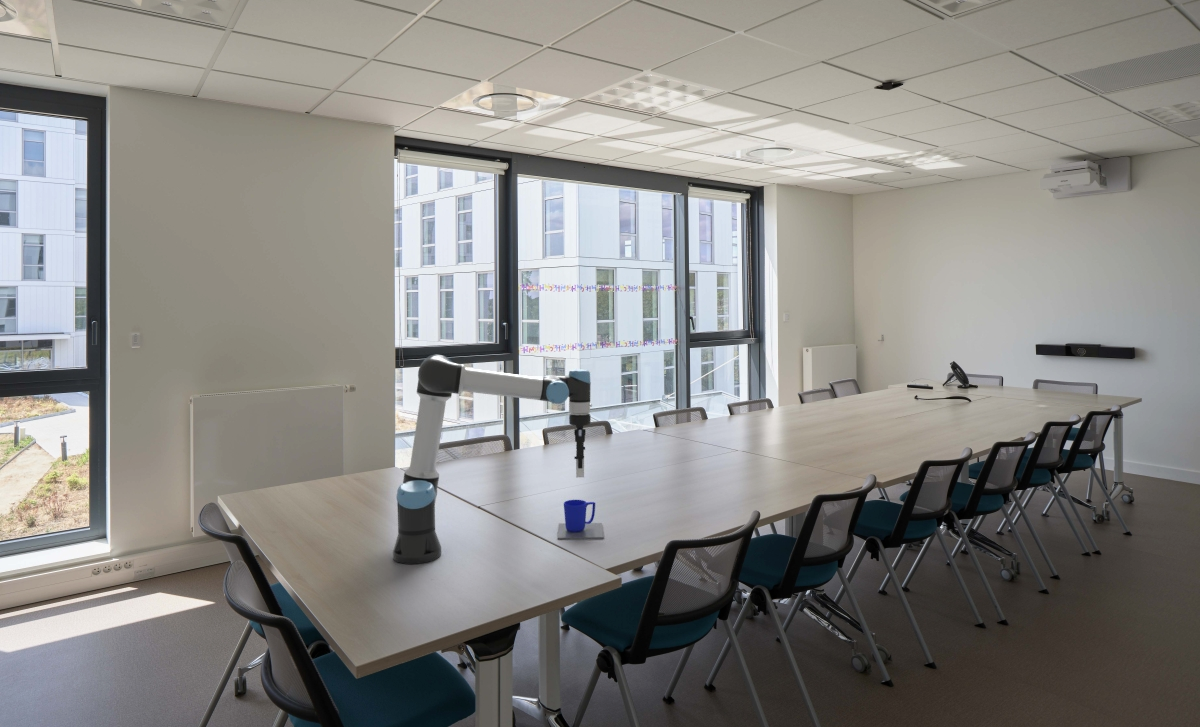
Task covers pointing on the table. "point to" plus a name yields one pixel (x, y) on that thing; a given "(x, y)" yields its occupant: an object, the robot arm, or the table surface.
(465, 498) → the table surface
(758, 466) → the table surface
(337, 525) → the table surface
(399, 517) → the robot arm
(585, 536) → the coaster
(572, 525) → the mug
